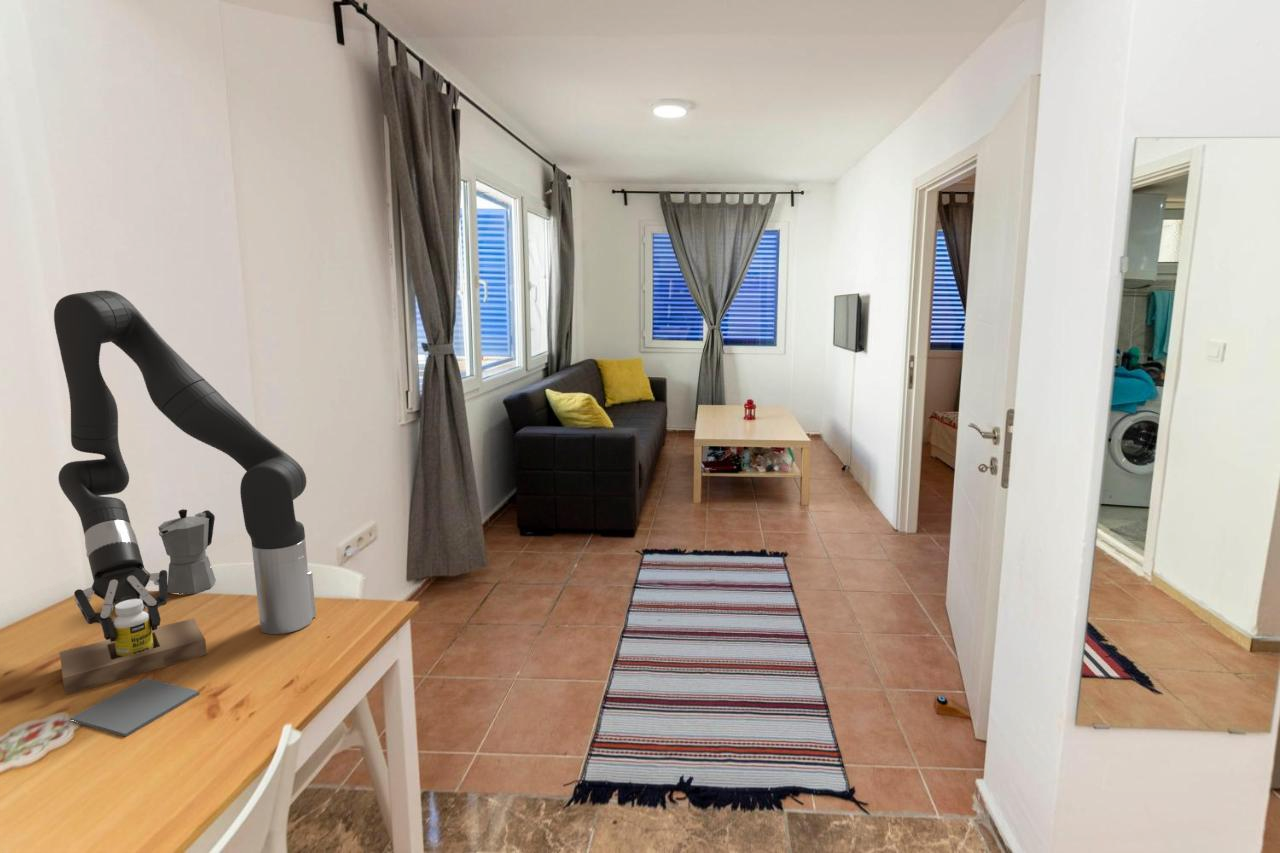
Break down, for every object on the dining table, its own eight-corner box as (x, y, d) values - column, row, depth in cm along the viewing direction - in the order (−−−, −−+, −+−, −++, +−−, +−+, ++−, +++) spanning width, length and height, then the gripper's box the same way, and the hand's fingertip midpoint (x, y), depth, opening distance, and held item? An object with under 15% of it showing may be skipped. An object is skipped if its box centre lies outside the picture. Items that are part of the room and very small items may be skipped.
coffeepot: (189, 601, 149) (179, 520, 146) (149, 598, 150) (138, 518, 147) (238, 572, 164) (230, 498, 161) (200, 570, 165) (192, 497, 162)
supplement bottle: (135, 664, 122) (127, 611, 120) (109, 660, 123) (100, 608, 121) (162, 648, 127) (154, 598, 125) (137, 645, 128) (129, 595, 126)
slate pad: (146, 680, 118) (146, 677, 118) (199, 693, 115) (199, 691, 115) (69, 720, 107) (69, 717, 107) (125, 736, 104) (125, 733, 103)
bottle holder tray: (65, 694, 114) (62, 678, 114) (62, 668, 122) (59, 652, 122) (206, 654, 127) (205, 639, 127) (195, 632, 135) (193, 618, 135)
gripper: (62, 551, 121) (82, 639, 115) (161, 531, 131) (184, 611, 125) (64, 571, 126) (83, 657, 120) (158, 551, 136) (181, 629, 130)
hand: (134, 633), depth 123 cm, fingers closed on supplement bottle, 5 cm apart
